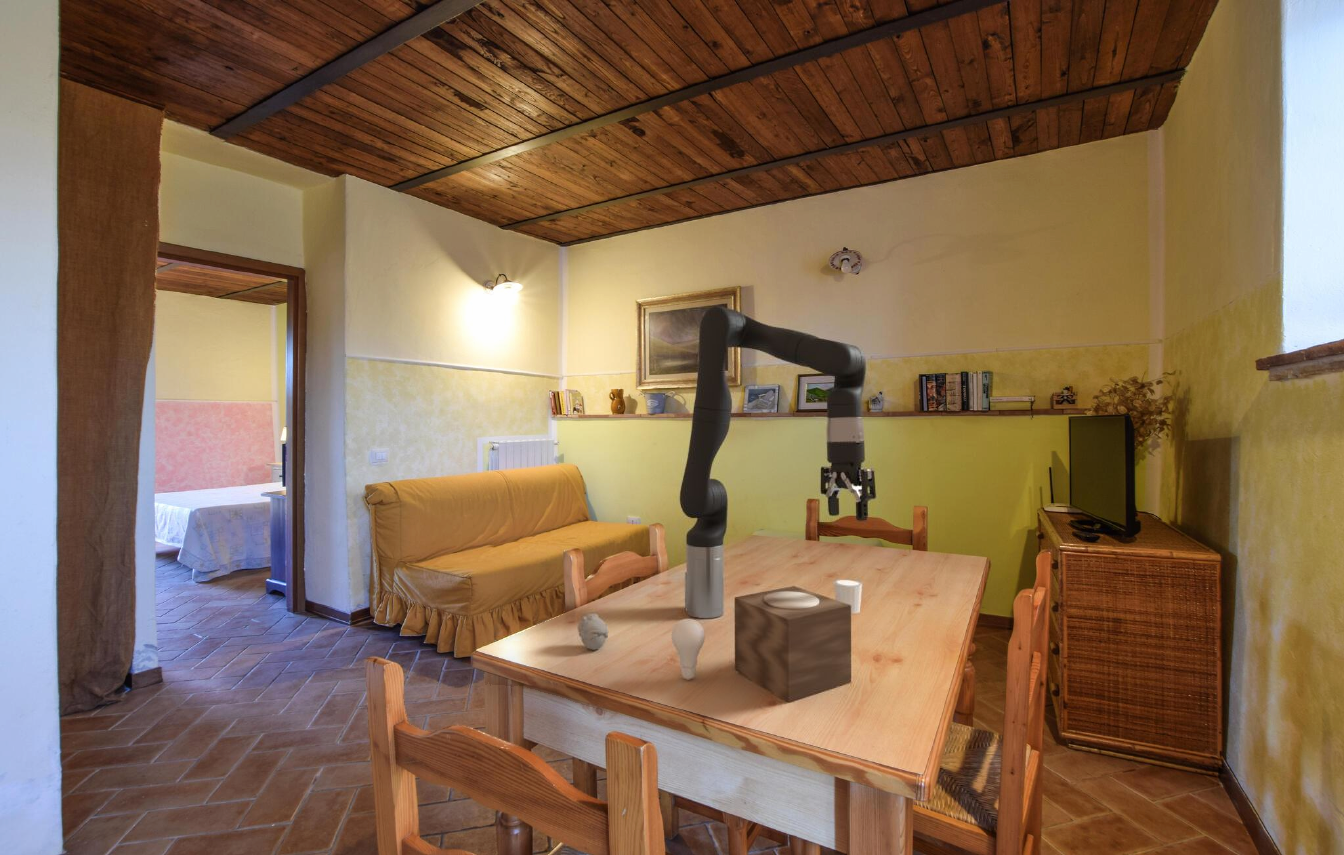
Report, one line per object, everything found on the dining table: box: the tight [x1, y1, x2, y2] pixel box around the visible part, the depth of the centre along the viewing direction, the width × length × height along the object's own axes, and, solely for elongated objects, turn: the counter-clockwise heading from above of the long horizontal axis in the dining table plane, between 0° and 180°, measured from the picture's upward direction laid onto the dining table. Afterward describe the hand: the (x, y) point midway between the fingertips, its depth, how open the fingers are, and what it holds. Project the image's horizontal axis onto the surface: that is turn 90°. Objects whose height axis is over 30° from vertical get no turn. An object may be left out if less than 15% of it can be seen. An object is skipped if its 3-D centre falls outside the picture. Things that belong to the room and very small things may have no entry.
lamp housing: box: [734, 585, 852, 704], centre depth 109 cm, size 15×15×14 cm
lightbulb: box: [671, 618, 706, 681], centre depth 108 cm, size 6×6×11 cm
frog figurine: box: [577, 613, 609, 651], centre depth 123 cm, size 6×7×7 cm
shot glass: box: [833, 579, 863, 615], centre depth 148 cm, size 7×7×7 cm
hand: (847, 517), depth 121 cm, fingers open, 8 cm apart
